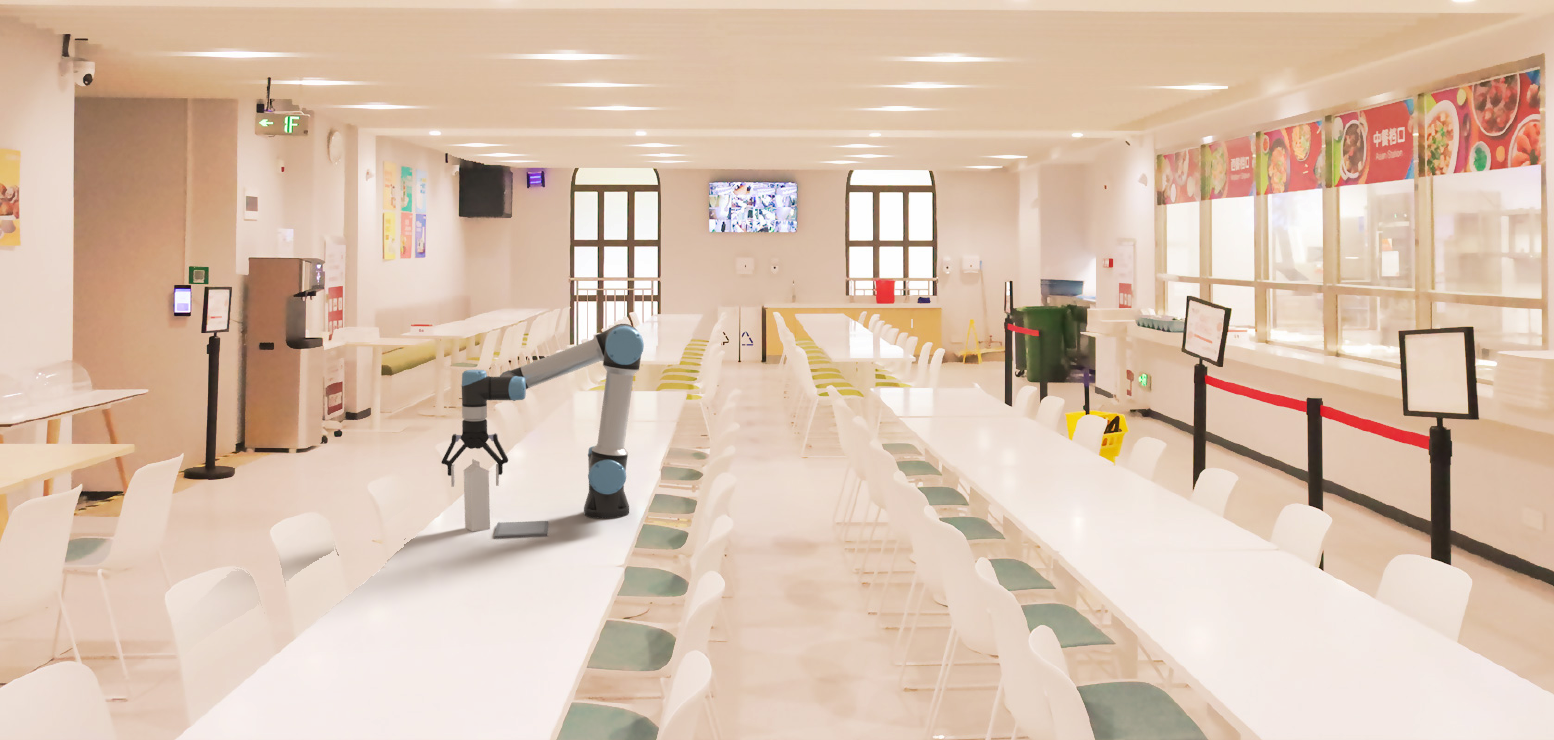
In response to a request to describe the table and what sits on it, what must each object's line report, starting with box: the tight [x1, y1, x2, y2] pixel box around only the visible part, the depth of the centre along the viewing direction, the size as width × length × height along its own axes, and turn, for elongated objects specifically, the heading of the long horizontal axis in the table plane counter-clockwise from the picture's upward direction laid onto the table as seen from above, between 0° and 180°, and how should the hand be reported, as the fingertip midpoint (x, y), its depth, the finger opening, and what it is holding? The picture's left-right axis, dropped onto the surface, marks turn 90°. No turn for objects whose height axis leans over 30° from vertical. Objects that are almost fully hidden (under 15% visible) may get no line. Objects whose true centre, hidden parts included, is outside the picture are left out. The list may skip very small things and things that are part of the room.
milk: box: [463, 458, 491, 533], centre depth 343 cm, size 6×6×22 cm
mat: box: [493, 520, 549, 539], centre depth 342 cm, size 16×16×1 cm
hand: (475, 485), depth 343 cm, fingers open, 13 cm apart
